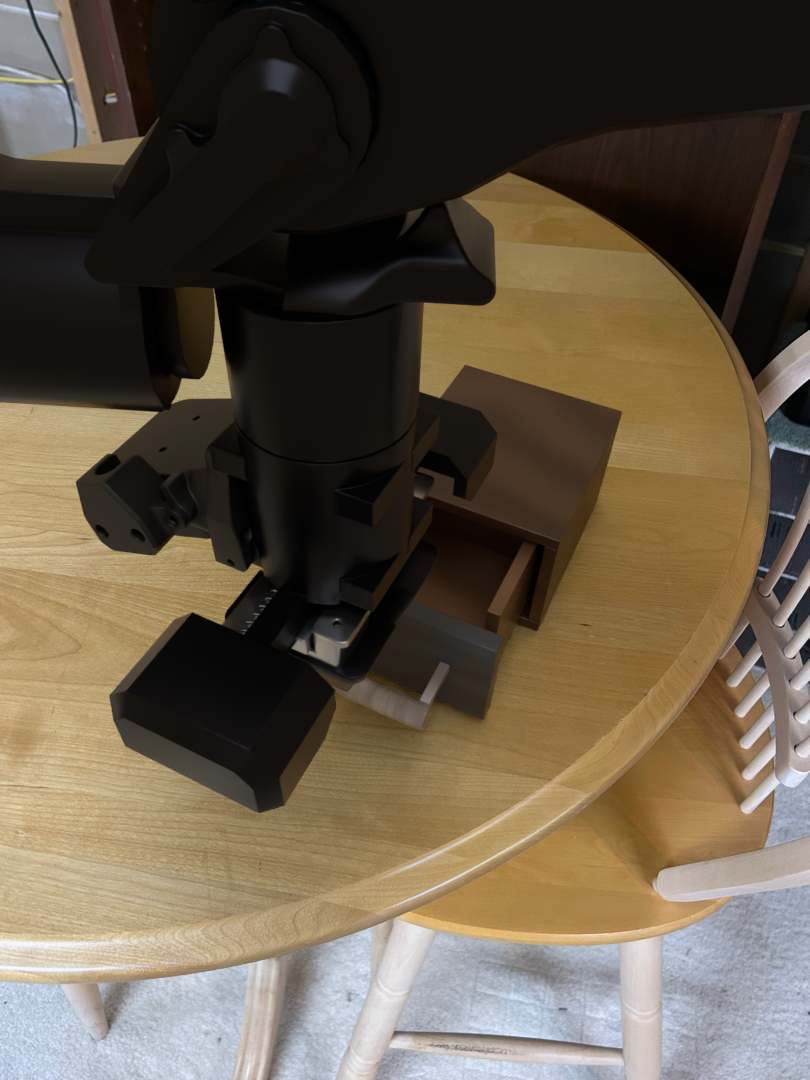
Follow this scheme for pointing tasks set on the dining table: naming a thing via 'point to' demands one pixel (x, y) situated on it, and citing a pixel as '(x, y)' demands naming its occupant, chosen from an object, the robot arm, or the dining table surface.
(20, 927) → the dining table surface
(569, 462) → the cabinet
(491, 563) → the drawer
